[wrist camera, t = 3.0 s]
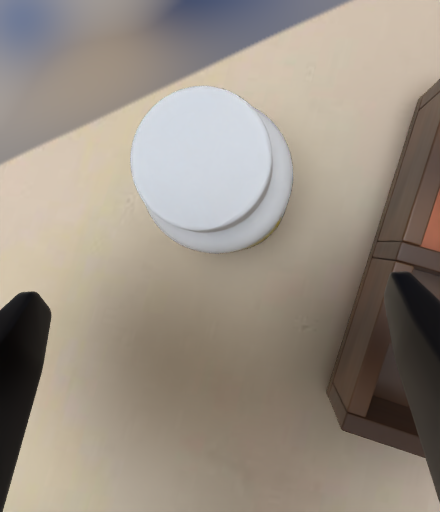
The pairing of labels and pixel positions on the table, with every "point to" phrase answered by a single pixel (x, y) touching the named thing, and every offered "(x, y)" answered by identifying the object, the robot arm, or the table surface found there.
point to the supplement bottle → (211, 170)
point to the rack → (374, 283)
